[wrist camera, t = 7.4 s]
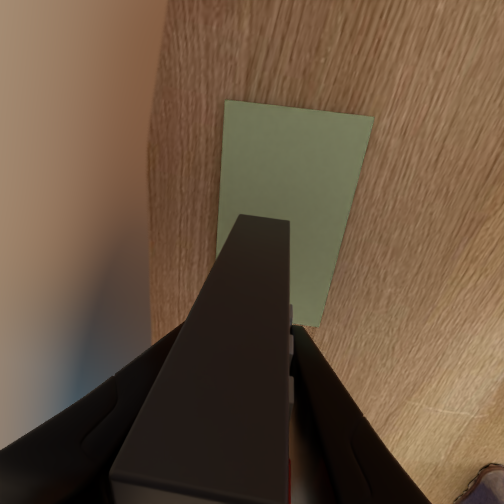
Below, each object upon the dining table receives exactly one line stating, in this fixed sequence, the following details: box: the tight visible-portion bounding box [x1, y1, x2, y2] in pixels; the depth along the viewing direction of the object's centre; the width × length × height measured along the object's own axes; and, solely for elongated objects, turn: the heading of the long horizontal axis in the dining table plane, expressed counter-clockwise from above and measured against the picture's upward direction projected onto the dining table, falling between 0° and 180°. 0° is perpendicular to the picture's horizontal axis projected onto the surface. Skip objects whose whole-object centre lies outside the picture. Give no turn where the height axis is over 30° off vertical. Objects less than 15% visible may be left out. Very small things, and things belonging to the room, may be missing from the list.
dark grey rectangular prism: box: [108, 214, 294, 504], centre depth 9 cm, size 2×4×10 cm, turn 174°
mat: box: [216, 99, 375, 327], centre depth 21 cm, size 16×9×1 cm, turn 174°
